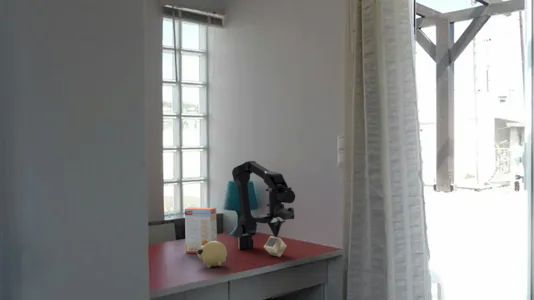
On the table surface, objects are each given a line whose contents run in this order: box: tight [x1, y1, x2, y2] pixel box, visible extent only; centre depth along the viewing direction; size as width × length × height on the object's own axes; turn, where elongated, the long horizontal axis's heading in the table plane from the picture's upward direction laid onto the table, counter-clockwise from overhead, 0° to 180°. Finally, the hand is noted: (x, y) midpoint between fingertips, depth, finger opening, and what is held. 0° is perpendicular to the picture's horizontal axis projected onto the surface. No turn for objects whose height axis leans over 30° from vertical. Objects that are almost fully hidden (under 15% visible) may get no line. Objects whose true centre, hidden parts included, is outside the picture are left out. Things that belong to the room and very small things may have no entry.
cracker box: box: [184, 206, 218, 254], centre depth 235 cm, size 14×6×21 cm, turn 65°
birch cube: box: [263, 235, 288, 258], centre depth 222 cm, size 6×6×6 cm
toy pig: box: [196, 240, 228, 269], centre depth 207 cm, size 10×12×11 cm
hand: (276, 236), depth 223 cm, fingers closed
